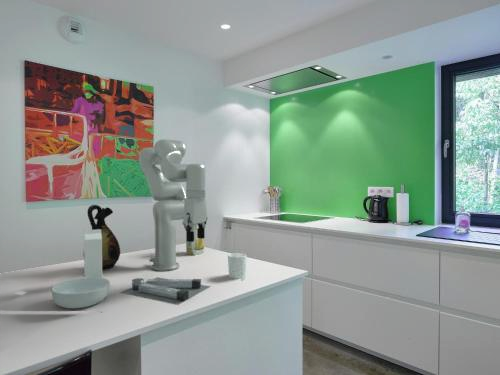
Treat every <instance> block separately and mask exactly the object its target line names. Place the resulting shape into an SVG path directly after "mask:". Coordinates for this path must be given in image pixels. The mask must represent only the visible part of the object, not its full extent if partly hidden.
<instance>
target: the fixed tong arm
mask: <svg viewBox="0 0 500 375" xmlns="http://www.w3.org/2000/svg"><path fill="white" fill-rule="evenodd" d="M139 292H144V293H149V294H154V295H159V296H164V297H169V298H174V299H177V300H181V301H184V302H186V301H187V299H188V298H189V291H187V290H179V289H174V288H168V287H163V286H157V285H152V284H146V283H142V284H139ZM185 300H186V301H185ZM188 300H189V299H188Z"/></svg>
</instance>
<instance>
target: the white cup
mask: <svg viewBox="0 0 500 375" xmlns="http://www.w3.org/2000/svg"><path fill="white" fill-rule="evenodd" d="M247 257H248V256H247V254H246V253H242V252H233V253H229V254H227V263H228V264H227V265H228V276H229V279H230V278H231V279H234V280H235V279H236V280H237V279H239V280H240V281H244V280H245V279H246V272H247Z"/></svg>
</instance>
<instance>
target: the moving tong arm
mask: <svg viewBox="0 0 500 375" xmlns="http://www.w3.org/2000/svg"><path fill="white" fill-rule="evenodd" d="M144 282H146V284H152V285H157V286H163V287H168V288H200V287H201V285H202V279H201V278H193V279H189V278H188V279H183V278H182V279H178V278H177V279H176V278H175V279H172V278H171V279H170V278H164V279H154V278H152V279H151V278H150V279H149V278H148V279H147V280H146V281H145V280H144V278H140V277H139V278H138V277H137V278H133V279H132V280H131V285H132V286H131V288H132V289H134V290H139V284H142V283H144Z"/></svg>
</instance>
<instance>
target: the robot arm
mask: <svg viewBox="0 0 500 375" xmlns="http://www.w3.org/2000/svg"><path fill="white" fill-rule="evenodd" d="M186 150H187V149H186V145H185V144H184V142H183V141H181V140H176V139H167V138H166V139H159V140H157V141H156V142H155V143H154V145H153V147H146V148H142V149H141V150H140V151H139V155H138V161H139V166H140V169H141V172H142V173H143V175H144V176H145V178H146V180H147V185H148V189H149V192H150V195H151V197H152V199H153V200H154V201H155V203H154V204H153V206H152V216H153V220H154V221H153V224H154V256H151V257H150V258H149V260H148V261H149V262H151V263H152V265H151V269H152V270H153V271H158V272H164V271H165V272H167V271H168V272H169V271H173V270H177V269H178V268H179V267H180V264H179V263H178V262H177V247H176V246H177V245H176V244H177V239H176V238H177V235H176V234H177V233H176V227H175V226H174V224H173V223H172V222H171V221H179V220H181V221H182V225H183V226H184V227H183V228H184V229H185V241H186V240H187V241H189V242H194V231H193V229H194V225H195V224H197V225H198V228H197V238H201V239H204V240H205V237H206V236H205V233H206V232H205V229H206V225H207V222H208V216H207V202H206V167H205V164H201V163H190V164H189V163H188V164H187V163H182V161H183V158H184V156H185V155H186V152H187V151H186ZM157 166H160V168H159V167H157ZM182 183H185V188H184V185H182ZM190 225H191V227H190Z"/></svg>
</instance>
